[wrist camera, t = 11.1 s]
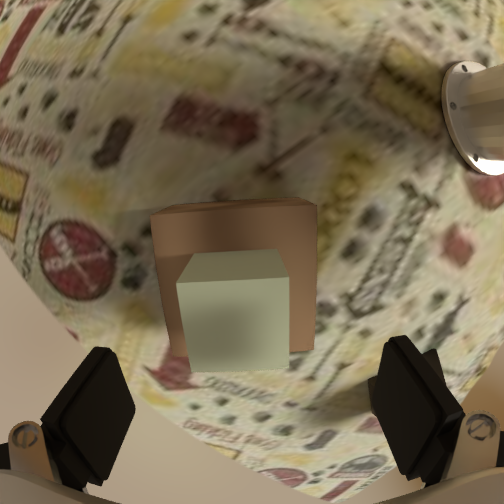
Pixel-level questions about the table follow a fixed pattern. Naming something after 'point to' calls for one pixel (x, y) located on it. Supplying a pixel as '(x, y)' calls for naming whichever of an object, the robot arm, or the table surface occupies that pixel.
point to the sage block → (235, 311)
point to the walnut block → (240, 239)
